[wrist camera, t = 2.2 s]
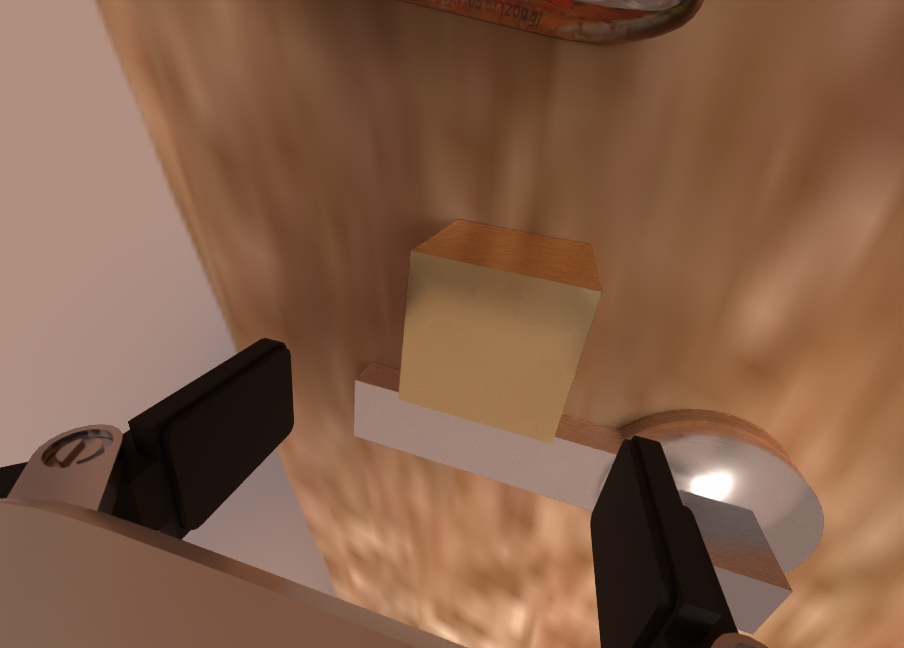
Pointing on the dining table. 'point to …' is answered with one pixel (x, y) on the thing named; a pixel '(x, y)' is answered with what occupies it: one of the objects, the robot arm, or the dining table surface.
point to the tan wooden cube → (497, 325)
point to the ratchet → (590, 460)
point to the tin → (578, 16)
